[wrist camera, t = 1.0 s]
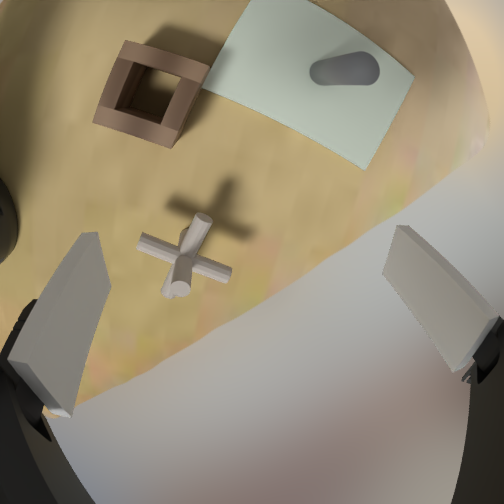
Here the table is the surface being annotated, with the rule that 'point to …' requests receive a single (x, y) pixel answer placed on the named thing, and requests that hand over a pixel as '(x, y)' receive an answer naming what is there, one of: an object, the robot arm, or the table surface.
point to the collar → (127, 81)
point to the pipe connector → (185, 257)
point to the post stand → (311, 76)
